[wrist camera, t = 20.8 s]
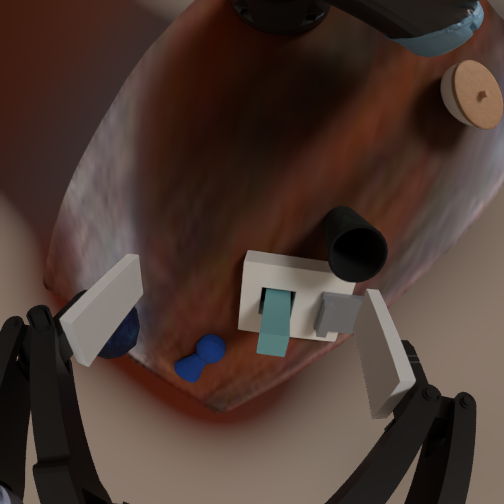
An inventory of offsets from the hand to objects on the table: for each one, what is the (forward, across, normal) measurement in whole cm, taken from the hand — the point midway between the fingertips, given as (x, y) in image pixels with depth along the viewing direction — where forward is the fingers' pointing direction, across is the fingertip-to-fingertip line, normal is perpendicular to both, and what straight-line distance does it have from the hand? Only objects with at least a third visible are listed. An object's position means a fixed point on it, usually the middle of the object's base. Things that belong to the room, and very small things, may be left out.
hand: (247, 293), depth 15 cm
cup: (+29, +11, -4) cm, 31 cm away
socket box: (+29, +6, -18) cm, 34 cm away
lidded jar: (+29, +28, +22) cm, 46 cm away
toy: (+29, -11, -38) cm, 49 cm away
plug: (+29, +3, -18) cm, 34 cm away
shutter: (+25, +14, -18) cm, 33 cm away
